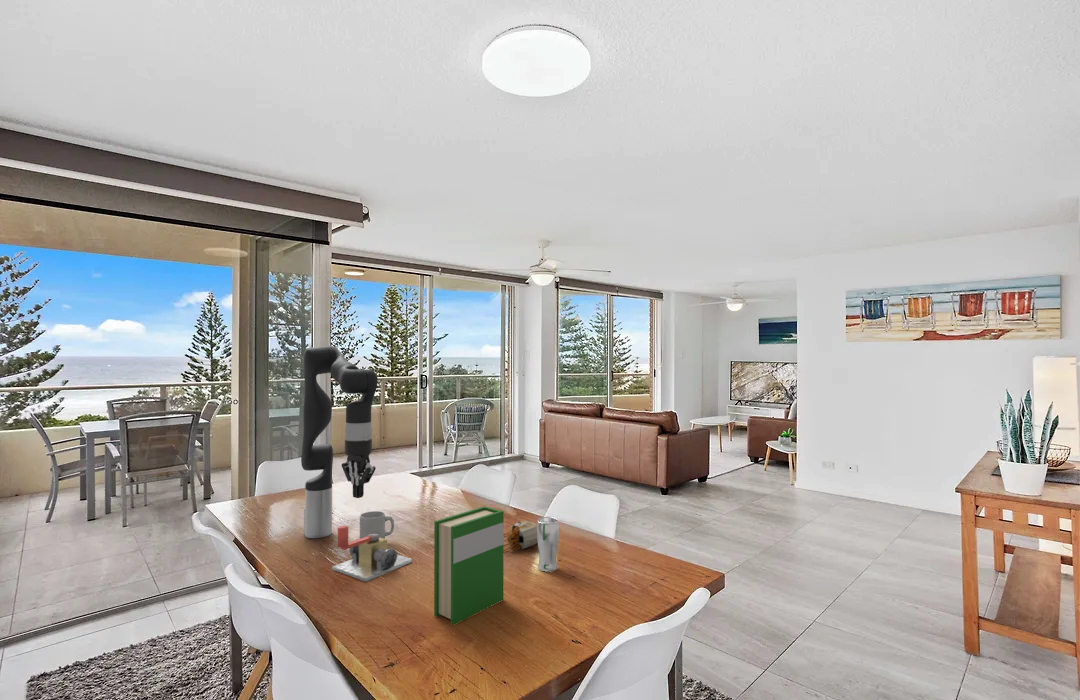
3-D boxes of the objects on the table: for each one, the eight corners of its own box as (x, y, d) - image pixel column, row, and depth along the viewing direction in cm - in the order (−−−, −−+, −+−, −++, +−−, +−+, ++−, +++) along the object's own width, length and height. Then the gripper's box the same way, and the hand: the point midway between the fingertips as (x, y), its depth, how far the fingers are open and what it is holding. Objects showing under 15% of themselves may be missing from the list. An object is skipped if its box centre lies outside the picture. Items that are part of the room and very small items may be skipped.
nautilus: (511, 562, 170) (480, 553, 180) (554, 541, 186) (524, 534, 196) (509, 538, 170) (479, 530, 180) (552, 519, 186) (522, 512, 196)
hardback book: (453, 625, 128) (453, 527, 129) (434, 615, 133) (434, 521, 134) (503, 600, 142) (503, 511, 142) (484, 592, 147) (484, 506, 147)
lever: (374, 536, 168) (374, 515, 168) (381, 538, 166) (381, 517, 166) (334, 550, 156) (334, 527, 156) (342, 552, 154) (342, 529, 154)
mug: (364, 552, 177) (364, 519, 177) (356, 545, 184) (356, 513, 184) (398, 544, 184) (398, 513, 184) (389, 538, 191) (389, 508, 191)
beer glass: (561, 565, 166) (561, 518, 166) (555, 574, 159) (555, 524, 159) (540, 562, 168) (540, 515, 168) (533, 571, 161) (533, 522, 161)
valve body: (332, 569, 162) (332, 543, 162) (379, 551, 177) (379, 528, 177) (365, 581, 153) (365, 554, 154) (412, 562, 168) (412, 537, 169)
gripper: (333, 437, 154) (332, 496, 153) (362, 441, 146) (362, 503, 146) (354, 434, 160) (354, 491, 160) (384, 438, 153) (383, 497, 152)
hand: (358, 497), depth 153 cm, fingers closed
